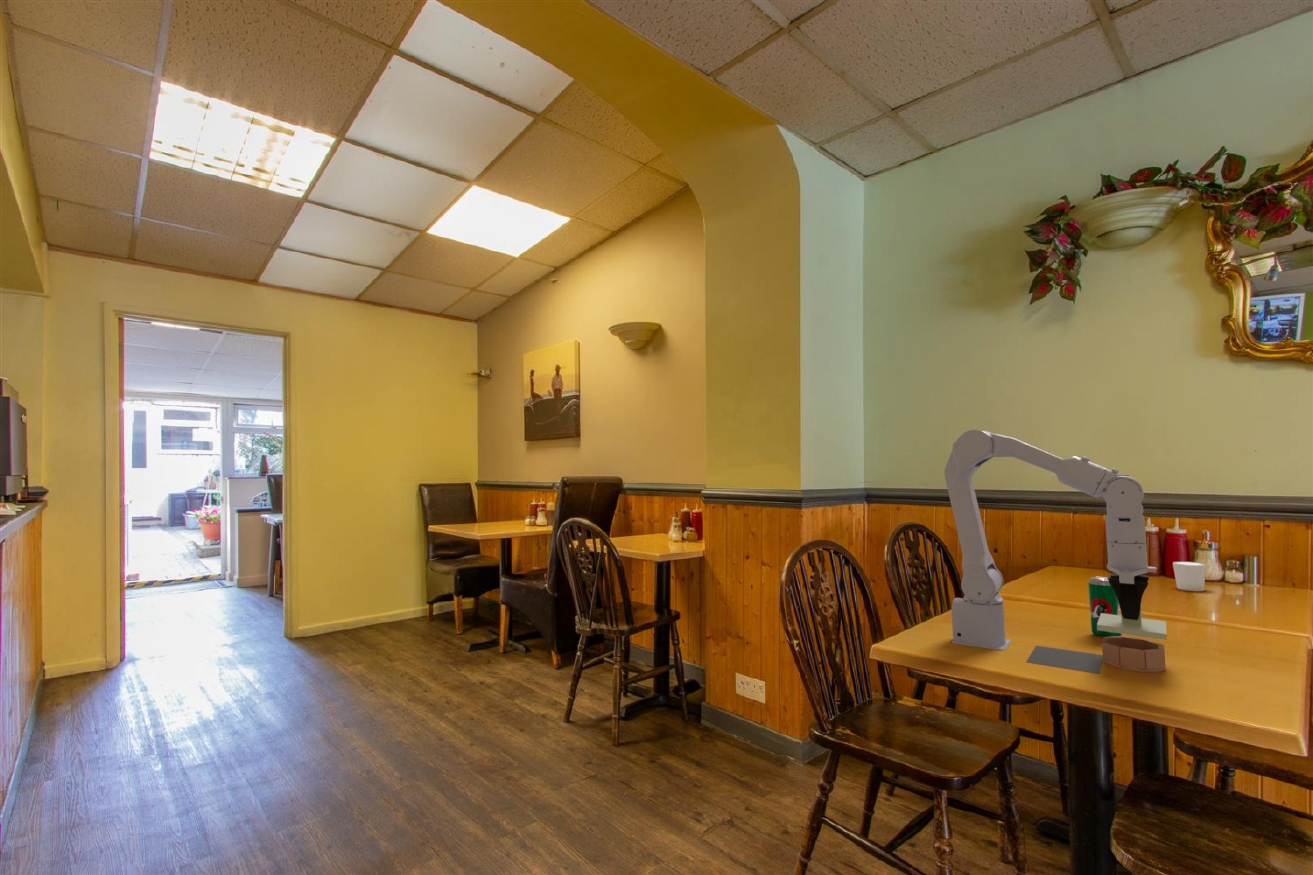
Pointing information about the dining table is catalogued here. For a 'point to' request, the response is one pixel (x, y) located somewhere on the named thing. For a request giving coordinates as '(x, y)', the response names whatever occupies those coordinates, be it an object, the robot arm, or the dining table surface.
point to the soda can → (1102, 603)
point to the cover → (1132, 626)
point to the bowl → (1134, 653)
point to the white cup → (1189, 575)
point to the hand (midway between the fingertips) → (1131, 616)
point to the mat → (1066, 659)
